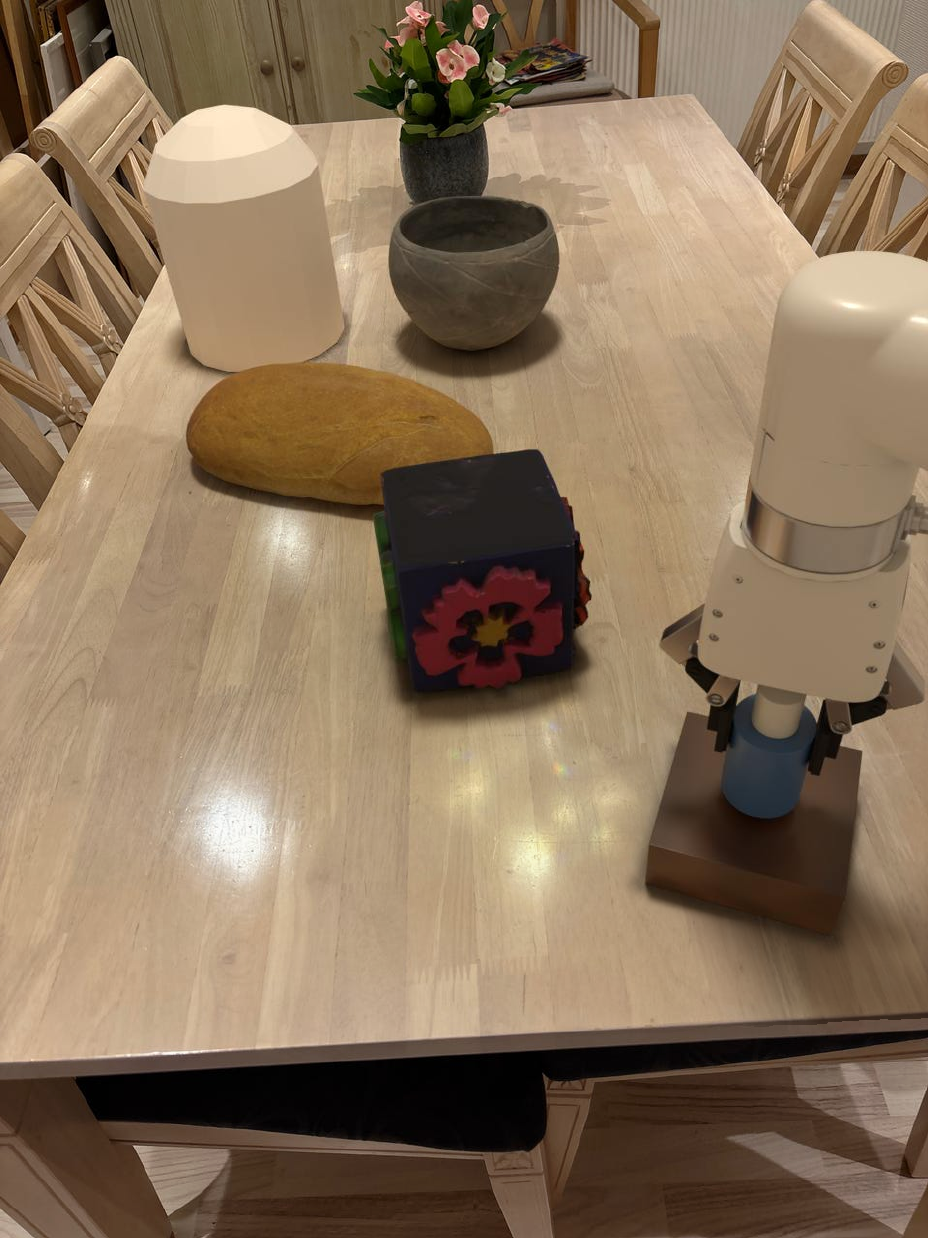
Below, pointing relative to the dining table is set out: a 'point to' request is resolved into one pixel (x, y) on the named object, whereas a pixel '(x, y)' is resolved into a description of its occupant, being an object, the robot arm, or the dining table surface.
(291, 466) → the bread
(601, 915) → the dining table surface
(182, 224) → the container
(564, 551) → the decorative cube
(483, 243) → the bowl
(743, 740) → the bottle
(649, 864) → the block
